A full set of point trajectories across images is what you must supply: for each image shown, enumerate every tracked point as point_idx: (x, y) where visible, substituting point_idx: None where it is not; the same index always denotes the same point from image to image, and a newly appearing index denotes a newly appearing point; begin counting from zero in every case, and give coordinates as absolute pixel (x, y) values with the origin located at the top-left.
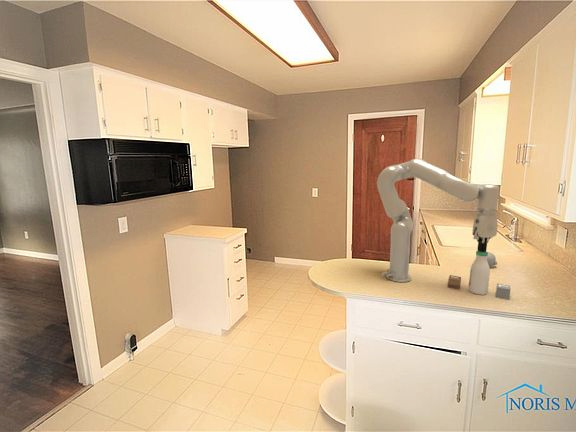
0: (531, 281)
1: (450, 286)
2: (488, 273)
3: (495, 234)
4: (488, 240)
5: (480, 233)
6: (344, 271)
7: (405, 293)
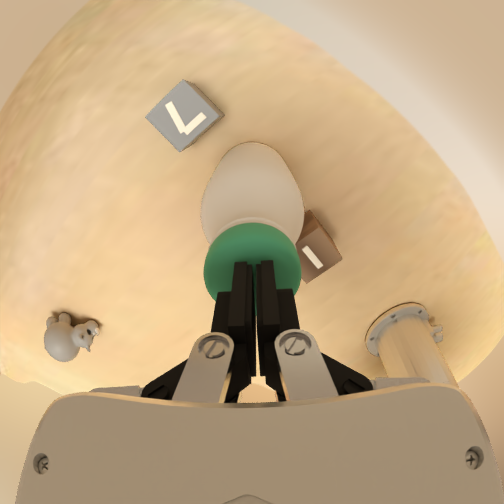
0: (21, 207)
1: (328, 235)
2: (240, 159)
3: (68, 415)
4: (192, 361)
5: (487, 438)
6: (448, 365)
7: (464, 242)
